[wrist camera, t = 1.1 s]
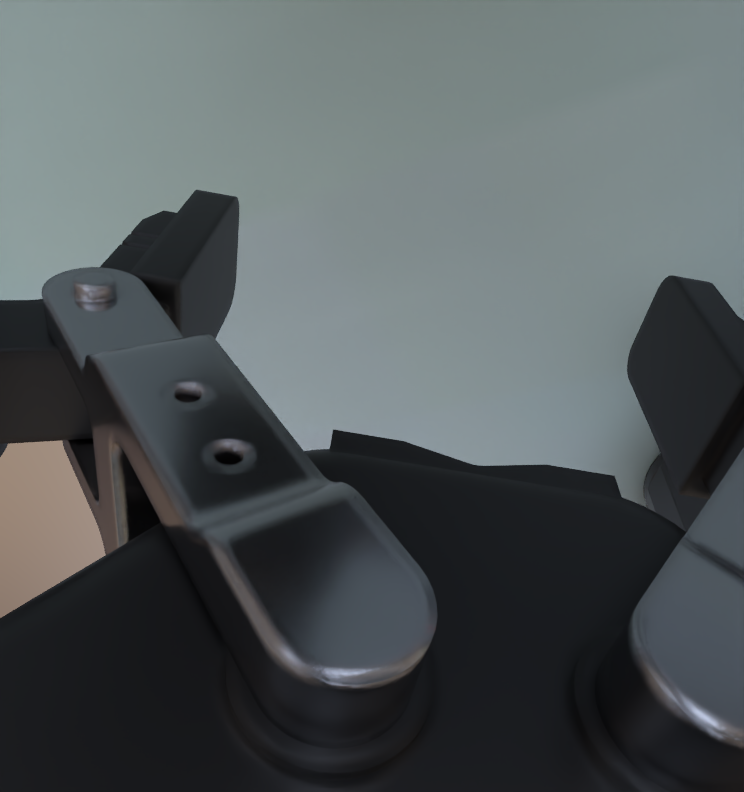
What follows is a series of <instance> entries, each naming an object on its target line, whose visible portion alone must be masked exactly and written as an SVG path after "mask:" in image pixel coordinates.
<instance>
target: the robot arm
mask: <svg viewBox="0 0 744 792" xmlns="http://www.w3.org/2000/svg"><path fill="white" fill-rule="evenodd" d="M238 227H239V201H238V198H237V197H234V196H229V195H223V194H218V193H212V192H206V191H201V190H195V191H194V193H193V194H192V195H191V196H190V198H189V199H188V200H187V201H186V203H185V204H184V205H183V206H182V208H181V209H180V210H179V211H178V213H174V212H168V211H162V212H160V213H157V214H155V215H152V216H150V217H148V218H145V219H143V220H142V221H141V222H140V223H139V224H138V225H137V226H136V227H135V229H134V230H133V231H132V233H131V234H129V235H128V236H127V238H126V239H125V240H124V241H123V243H122V245H119V246H118V248H117V249H116V250H115V251H114V252H113V253H112V254H111V255H110V256H109V258H108V259H107V260H106V261H105V262H104V263H103V264H102V265H101V267H89V268H79V269H73V270H69V271H65V272H62V273H60V274H57V275H55V276H53V277H52V278H50V279H49V280H48V281H47V282H46V283H45V284H44V286H43V288H42V298H43V299H39V300H0V457H1V455H2V454H3V452H4V450H5V449H6V447H7V444H8V443H24V442H40V441H57V440H63V446H64V449H65V451H66V453H67V456H68V458H69V461H70V463H71V465H72V467H73V470H74V472H75V474H76V477H77V479H78V481H79V483H80V486H81V488H82V490H83V493H84V495H85V497H86V499H87V502H88V504H89V506H90V508H91V511H92V513H93V515H94V518H95V520H96V522H97V525H98V528H99V531H100V534H101V537H102V541H103V545H104V549H105V554H106V556H104V557H102V558H101V559H99V560H97V561H96V562H94V563H92V564H90V565H89V566H87V567H85V568H84V569H82V570H80V571H79V572H77V573H75V574H74V575H72V576H70V577H69V578H67V579H65V580H64V581H62V582H60V583H59V584H57V585H55V586H54V587H52V588H50V589H48V590H47V591H45V592H44V593H42V594H40V595H38V596H37V597H35V598H33V599H32V600H30V601H28V602H27V603H25V604H23V605H22V606H20V607H18V608H17V609H15V610H13V611H12V612H10V613H8V614H7V615H5V616H3V617H2V618H0V792H744V320H742V319H741V318H740V317H738V316H737V315H736V314H735V312H734V311H733V310H732V308H731V307H730V306H729V304H728V303H727V302H726V300H725V299H724V298H723V297H722V295H721V294H720V293H719V291H718V290H717V289H716V287H715V286H714V285H713V284H712V283H710V282H705V281H700V280H694V279H689V278H683V277H677V276H668V277H667V278H665V279H664V280H663V282H662V283H661V285H660V286H659V288H658V290H657V292H656V294H655V297H654V299H653V301H652V303H651V305H650V307H649V310H648V312H647V314H646V316H645V318H644V321H643V323H642V325H641V327H640V329H639V332H638V334H637V336H636V338H635V340H634V343H633V345H632V347H631V350H630V353H629V357H628V365H627V372H628V378H629V380H630V383H631V385H632V387H633V390H634V392H635V394H636V397H637V399H638V401H639V404H640V406H641V408H642V410H643V413H644V415H645V417H646V420H647V422H648V424H649V427H650V429H651V431H652V433H653V436H654V438H655V440H656V443H657V445H658V447H659V450H660V452H661V454H662V457H663V459H664V461H665V463H666V466H667V468H668V470H669V473H670V475H671V477H672V480H673V482H674V484H675V487H676V489H677V491H678V493H679V495H685V496H692V497H698V498H704V499H709V500H708V501H707V503H706V504H705V506H704V507H703V509H702V510H701V512H700V513H699V515H698V516H697V518H696V519H695V521H694V522H693V524H692V525H691V527H690V528H689V530H688V531H687V532H686V531H684V530H683V529H681V528H680V527H679V526H677V525H676V524H674V523H673V522H671V521H669V520H668V519H666V518H665V517H663V516H661V515H660V514H658V513H656V512H654V511H652V510H650V509H648V508H646V507H644V506H642V505H639V504H637V503H635V502H632V501H630V500H627V499H624V498H622V497H621V494H620V491H619V488H618V485H617V482H616V479H615V476H611V475H605V474H599V473H593V472H587V471H581V470H575V469H569V468H563V467H557V466H551V465H508V466H477V465H472V464H469V463H466V462H463V461H460V460H457V459H454V458H451V457H448V456H445V455H442V454H439V453H436V452H433V451H431V450H428V449H425V448H422V447H419V446H416V445H413V444H410V443H407V442H404V441H399V440H393V439H387V438H381V437H375V436H369V435H362V434H356V433H350V432H344V431H338V430H333V434H332V440H331V446H330V449H322V450H310V451H303V450H302V448H301V447H300V446H299V445H298V443H297V442H296V441H295V439H294V438H293V437H292V436H291V434H290V433H289V432H288V431H287V429H286V428H285V427H284V426H283V424H282V423H281V422H280V420H279V419H278V418H277V417H276V415H275V414H274V413H273V412H272V410H271V409H270V408H269V407H268V405H267V404H266V403H265V402H264V400H263V399H262V398H261V396H260V395H259V394H258V393H257V391H256V390H255V389H254V388H253V386H252V385H251V384H250V383H249V381H248V380H247V379H246V377H245V376H244V375H243V374H242V372H241V371H240V370H239V369H238V367H237V366H236V365H235V364H234V362H233V361H232V360H231V359H230V357H229V356H228V355H227V353H226V352H225V351H224V350H223V348H222V347H221V346H220V345H219V343H218V342H217V341H216V340H215V339H216V337H217V334H218V332H219V330H220V328H221V326H222V324H223V322H224V320H225V318H226V316H227V314H228V312H229V309H230V307H231V304H232V300H233V296H234V290H235V283H236V269H237V248H238Z"/></svg>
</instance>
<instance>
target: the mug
mask: <svg viewBox="0 0 744 792" xmlns="http://www.w3.org/2000/svg"><path fill="white" fill-rule="evenodd" d="M644 497H645V501H646V504H647V508H648V509H650V510H652V511H654V512H656V513H658V514H660V515H661V516H663V517H665V518H666V519H668V520H669V521H671V522H673V523H674V524H676V525H677V526H679V527H680V528H681V529H683V530H684V531H686V532H687V531H688V530H689V528H690V527H691V525H692V524H693V522H694V521H695V519H696V518H697V516H698V515H699V513H700V512H701V510H702V509H703V507H704V506H705V504H706V503H707V501H708V500H709V499H704V498H698V497H692V496H685V495H679V493H678V491H677V489H676V487H675V484H674V482H673V480H672V477H671V475H670V473H669V470H668V468H667V466H666V463H665V461H664V459H663V457H662V454H660V455H659V457H658V458H657V459H656V460H655V461H654V463H653V464H652V466H651V467H650V469H649V471H648V473H647V476H646V479H645V482H644Z"/></svg>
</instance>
